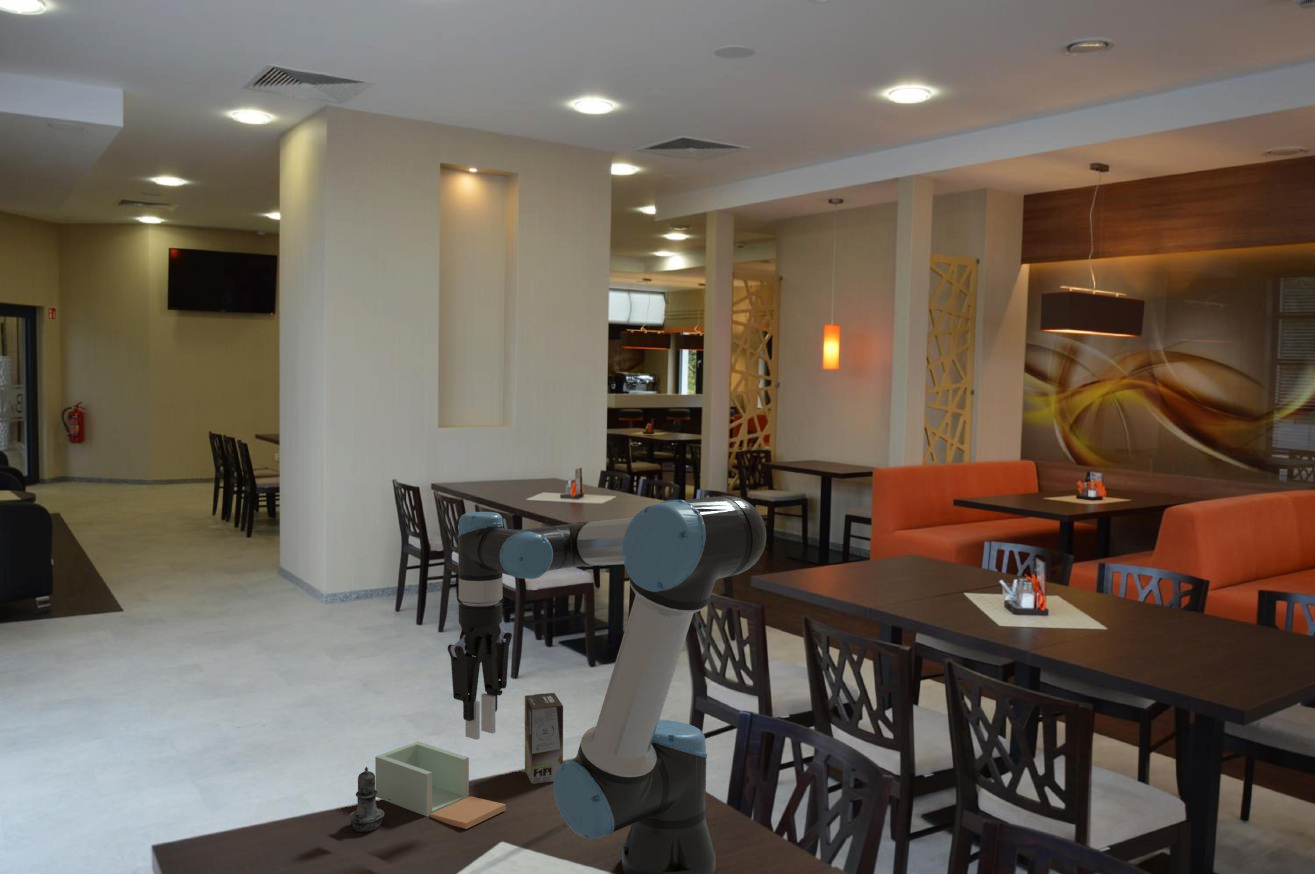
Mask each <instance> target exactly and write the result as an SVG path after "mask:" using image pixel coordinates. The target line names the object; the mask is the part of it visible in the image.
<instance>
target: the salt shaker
mask: <svg viewBox="0 0 1315 874" xmlns="http://www.w3.org/2000/svg"><path fill="white" fill-rule="evenodd" d="M363 770H364V771H362V772H361V773H359V775H358V776H357V792H356V793H355V797H356V798H357V799H356V800H357V807H356V810H355V811H352V812H351V813H350V814H349V815H348V820H349V821H350V823H351V826H352V828H353V829H354V830H355V831H357V832H359V833H368V832H373V831H375V830H377V829H378V828H379V827H380V826H381V824H382V822H383V818H384V816H385V812H384V810H382V809H381V808H379V807H377V802H376V800H377V799H376V798H377V797H376V795H377V793H378V792H377V791H376V774H375V773H374V772H373V771H369V768H368V766H366V767H365V768H364V769H363Z"/></svg>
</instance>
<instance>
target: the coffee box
mask: <svg viewBox="0 0 1315 874" xmlns="http://www.w3.org/2000/svg"><path fill="white" fill-rule="evenodd" d="M563 763H564V705H563V704H562V702H561V701H560V699H559V698H558V696H557V695H556V693H555V692H548V693H547V692H545V693H536V694H535V693H534V694H528V695H524V773H525V774H526V775H527V777H528V779H529V781H530V783H531V784H532V785H533V784H534V785H535V784H542V783H543V784H544V783H550V782H551V783H552V782H553V783H554V775H555V772H556V770H557V768H558V767H559V766H560V765H561V764H563ZM526 770H527V771H526Z"/></svg>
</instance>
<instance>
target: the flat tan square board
mask: <svg viewBox="0 0 1315 874" xmlns="http://www.w3.org/2000/svg"><path fill="white" fill-rule="evenodd" d="M505 811H507V805H506V804H505V803H500V802H497V801H493V800H489V799H484V798H478V797H476V796H470V795H469V797H468V798H465V799H463V800H461V801H459V802H456V803H454V804H452V805H449V806H447V807H445V808H443V809H440V810H438V811H436V812H434V813H431V814H430V815H429V816H430V818H432V819H434V820H437V821H440V822H442V823H444V824H447V825H450V826H454V827H457V828H461V829H464V830H468V829H469V828H471V827H473V826H475V825H478V824H480V823H482V822H483V821H487V820H488V819H491V818H492V817H495V816H496V815H499V814H500V813H502V812H505Z"/></svg>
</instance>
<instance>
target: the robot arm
mask: <svg viewBox="0 0 1315 874" xmlns="http://www.w3.org/2000/svg"><path fill="white" fill-rule="evenodd" d="M503 523H504V521H503V517H502V514H500V513H498V512H493V511H474V512H473V511H472V512H466V513H464V514H462V515H461V516H460V518H459V521H458V534H457V542H458V543H457V548H458V551H457V552H458V554H457V555H458V556H457V557H458V562H457V563H458V600H459V601H460V603H459V604H458V624H459V626H460V628H461V631H460V634H459V640H458V641H456V643H454V644H448V645H447V651H448V654H449V657H450V665H451V679H452V680H451V681H452V695H453V699H455V700H456V701H457V700H458V701H460V702H461V701H462V709H463V712H462V715H463V716H462V717H463V720H464V721H465V737H466V738H470V739H473V740H476V741H477V740H480V733H481V732H485V733H488V734H492V735H493V734H496V713H497V710H498V696H502V695H503V689H506V688H507V686H508V685H507V684H508V683H507V682H508V667H509V666H508V665H509V652H510V650H509V647H510V644H511V641H512V637H513V634H512V632H508V631H503V630H502V629H501V627H500V626H501V625H500V624H501V623H502V622H503V603H502V602H501V600H502V599H504V598H503V596H504V595H503V575H507V576H511V577H513V578H517V579H522V580H523V579H529V580H534V579H539V578H540V577H542V576H543V575H544V574H545V573H547V572H550V571H556V570H561V569H568V568H570V569H571V568H576V567H577V568H578V567H593V566H608V565H609V566H612V565H613V566H614V565H624V569H625V571H626V573H627V575H628V577H629V580H628V581H629V583H628V584H629V585H630V588H631V590H632V591H633V592H634V594H635V597H634V600H633V603H632V606H631V609H630V613H629V616H628V620H627V623H626V627H625V629H624V632H623V636H622V639H621V643H620V646H619V649H618V653H617V656H616V659H615V662H614V666H613V669H612V673H611V676H610V680H609V683H608V687H607V689H606V693H605V696H604V700H603V703H602V706H601V709H600V713H599V715H598V720H597V723H596V725H595V726H592V727H590V728H589V729H587V730H586V731H585V732H584V734H583V735H582V737H581V740H580V743H579V747H578V750H577V754H576V756H575V758H573V759H568V760H565V761H563V764H561V765H560V766H559V767H558V768H557V770H556V772H555V775H554V782H553V784H552V785H553V794H554V800H555V803H556V805H557V808H558V811H559V813H560V815H561V817H562V819H563V820H564V822H565V823H566V825H567V826H568V827H569V828H570V829H571V830H572V832H574V834H576V835H577V836H579V837H581V838H583V839H586V840H594V839H598V838H602V837H605V836H610V835H612V834H613V833H615V832H617V831H620V830H621V829H624V828H626V827H628V826H630V827H629V830H628V833H627V835H626V840H625V842H624V845H623V849H622V853H621V867H622V868H621V869H622V871H623V873H624V874H715V871H716V863H717V862H716V860H717V859H716V856H717V855H716V851H715V850H716V849H715V847H714V845H713V841H712V838H711V835H710V831H709V828H708V825H707V821H706V801H707V800H706V796H707V793H706V790H707V787H706V786H707V758H708V753H707V747H706V743H707V742H706V736H705V733H703V731H702V730H701V729H699V728H698V727H696V726H694V725H692V724H689V723H685V722H682V721H678V720H677V721H676V720H667V719H661V715H662V712H663V710H664V706H665V702H666V699H667V696H668V695H669V690H670V687H671V684H672V682H673V678H674V675H675V672H676V669H677V666H678V663H679V659H680V656H681V654H682V651H683V648H684V644H685V641H686V638H687V635H688V632H689V628H690V625H691V623H692V619H693V615H694V614H695V613H698V612H701V611H703V610H704V609H705V608H706V607H707V606H708V604H709V602H710V599H711V597H712V592H713V591H714V587H715V584H716V581H717V580H719V579H725V578H728V577H733V576H736V575H740V574H742V573H744V572H746V571H748V570H750V569H751V568H752V567H753V566H755V564H756V563H757V562H758V561H759V560H760V558H761V556H762V554H763V553H764V550H765V547H766V543H767V529H766V524H765V522H764V519H763V517H762V515H761V514H760V512H759V511H758V509H756V507H755V506H754V505H752V504H751V503H750V502H748V501H747V500H745V499H743V498H741V497H737V496H734V495H733V496H732V495H717V496H710V497H702V498H693V499H684V500H683V499H668V500H664V501H662V502H658V503H653V504H651V505H648V506H646V507H644V508H643V509H641V510H639V511H638V512H637V513H636V514H635V515H634V517H629V518H628V517H627V518H626V517H625V518H618V519H607V520H599V521H598V520H597V521H580V522H575V523H568V524H560V525H553V526H552V525H550V526H544V527H533V528H525V529H510V528H504V524H503ZM480 666H481V668H482V669H481V668H480ZM480 669H481V670H482V677H483V685H484V692H485V693H484V692H483V693H481V694H480V695H481V696H480V697H481V699H480V700H481V701H479V700H477V694H478V684H479V676H480V675H479V674H480ZM480 702H481V703H480ZM480 705H481V706H480ZM480 707H481V710H480ZM480 711H481V716H480ZM480 718H481V721H480ZM480 722H481V723H480ZM480 724H481V726H480ZM480 727H481V728H480ZM480 731H481V732H480Z"/></svg>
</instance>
